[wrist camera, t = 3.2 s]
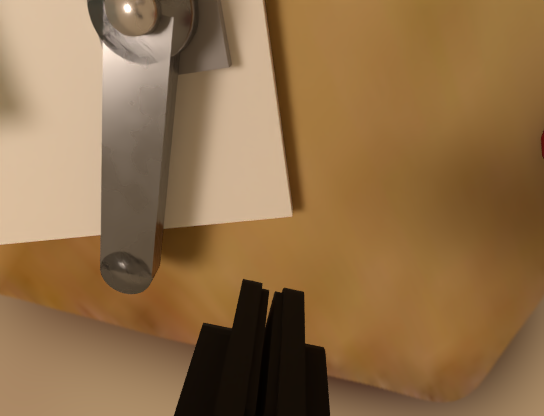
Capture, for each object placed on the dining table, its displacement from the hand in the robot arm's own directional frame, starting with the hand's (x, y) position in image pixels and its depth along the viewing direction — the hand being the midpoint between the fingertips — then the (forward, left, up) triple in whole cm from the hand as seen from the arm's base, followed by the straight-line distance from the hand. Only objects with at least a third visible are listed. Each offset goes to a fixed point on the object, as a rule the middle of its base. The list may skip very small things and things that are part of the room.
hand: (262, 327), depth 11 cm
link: (+7, -2, -12) cm, 14 cm away
